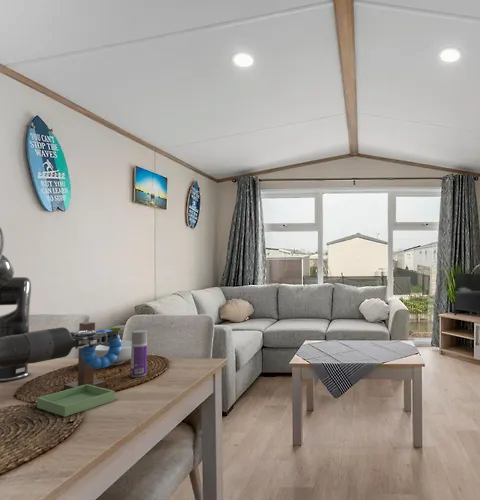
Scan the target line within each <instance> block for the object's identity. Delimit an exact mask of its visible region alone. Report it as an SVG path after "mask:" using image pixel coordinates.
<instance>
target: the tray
mask: <svg viewBox="0 0 480 500" xmlns="http://www.w3.org/2000/svg"><path fill="white" fill-rule="evenodd" d="M115 394H116V393H115V390H111V389H108V388H104V387H101V388H100V387H96V386H92V385H89V384H86V385H82V386H78V387H75V388H71V389H67V390H65V389H63V390H60V391H57V392H53V393H50V394H46V395H42V396H38V397H36V408H37V409H40V410H43V411H46V412H49V413H52V414H55V415H59V416H61V417H64V418H65V417H69V416H71V415H74V414H75V415H76V414H78V413H80V412H84V411H87V410H89V409H93V408H95V407H98V406H102V405H105V404H108V403H111V402H114V401H115V397H116V396H115Z"/></svg>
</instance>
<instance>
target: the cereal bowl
mask: <svg viewBox="0 0 480 500" xmlns="http://www.w3.org/2000/svg"><path fill="white" fill-rule="evenodd" d="M120 340H121V343H122V348H121V351H120V354H119V357H118V358H117V359H116V360H115V361H114V362H113V363H112V364H111V365H110V366H117V365H121V364H124V363H125V362H126V361H129V360H131V347H132V340H125V339H124V340H122V339H120ZM108 350H109V346H103V345H98V346H96V349H95V354H96V356H98V357H103V356H104V355H105V354H107V353H108Z"/></svg>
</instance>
